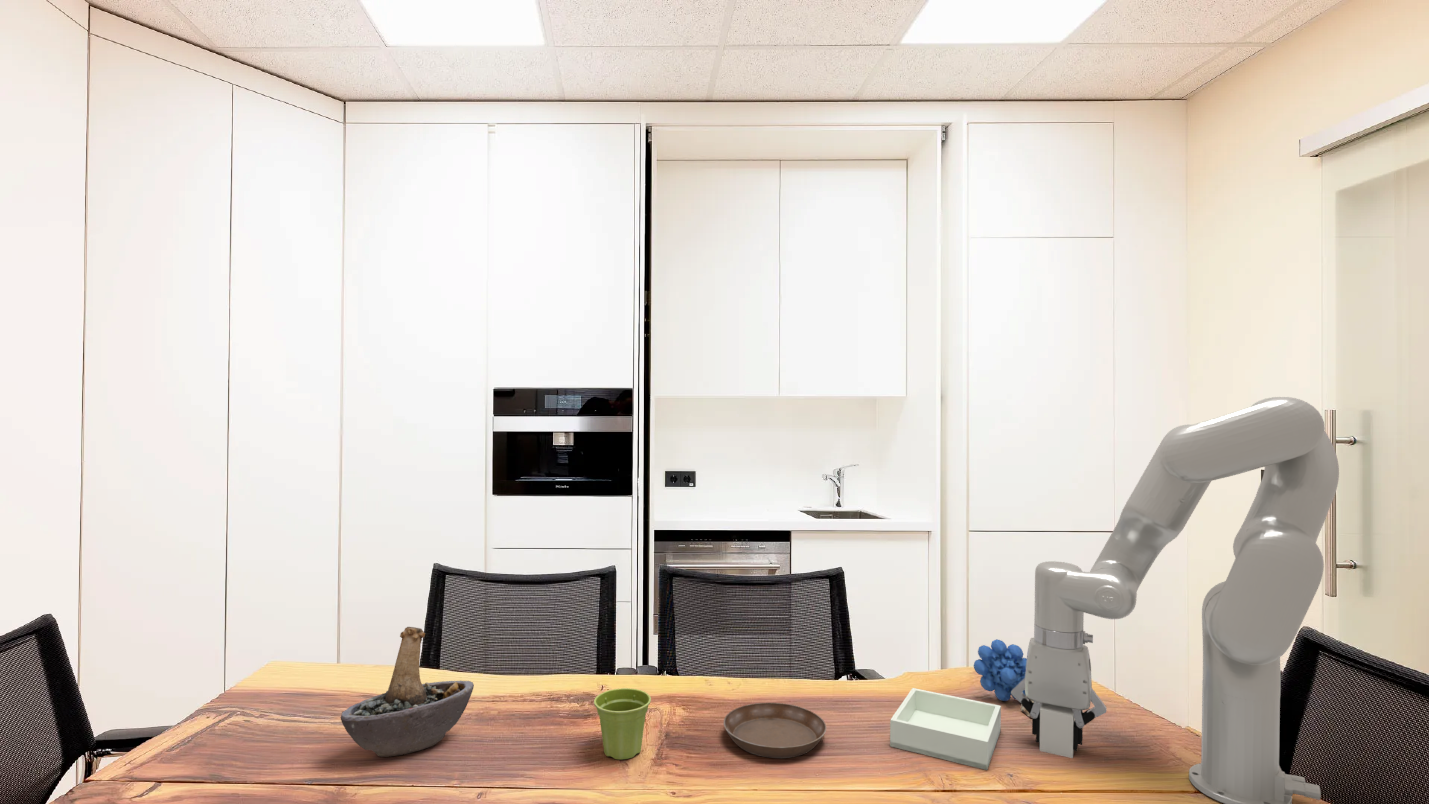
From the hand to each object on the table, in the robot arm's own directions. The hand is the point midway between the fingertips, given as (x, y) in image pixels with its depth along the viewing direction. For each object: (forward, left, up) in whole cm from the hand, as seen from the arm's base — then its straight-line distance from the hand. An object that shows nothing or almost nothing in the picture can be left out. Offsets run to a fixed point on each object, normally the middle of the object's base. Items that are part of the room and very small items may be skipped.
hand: (1056, 742), depth 122 cm
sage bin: (+17, +6, -1) cm, 18 cm away
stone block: (0, 0, -1) cm, 1 cm away
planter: (+94, +55, -1) cm, 109 cm away
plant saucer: (+43, +21, -1) cm, 48 cm away
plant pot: (+63, +38, -1) cm, 74 cm away
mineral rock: (+3, -13, -2) cm, 13 cm away
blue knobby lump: (+10, -15, -1) cm, 18 cm away
